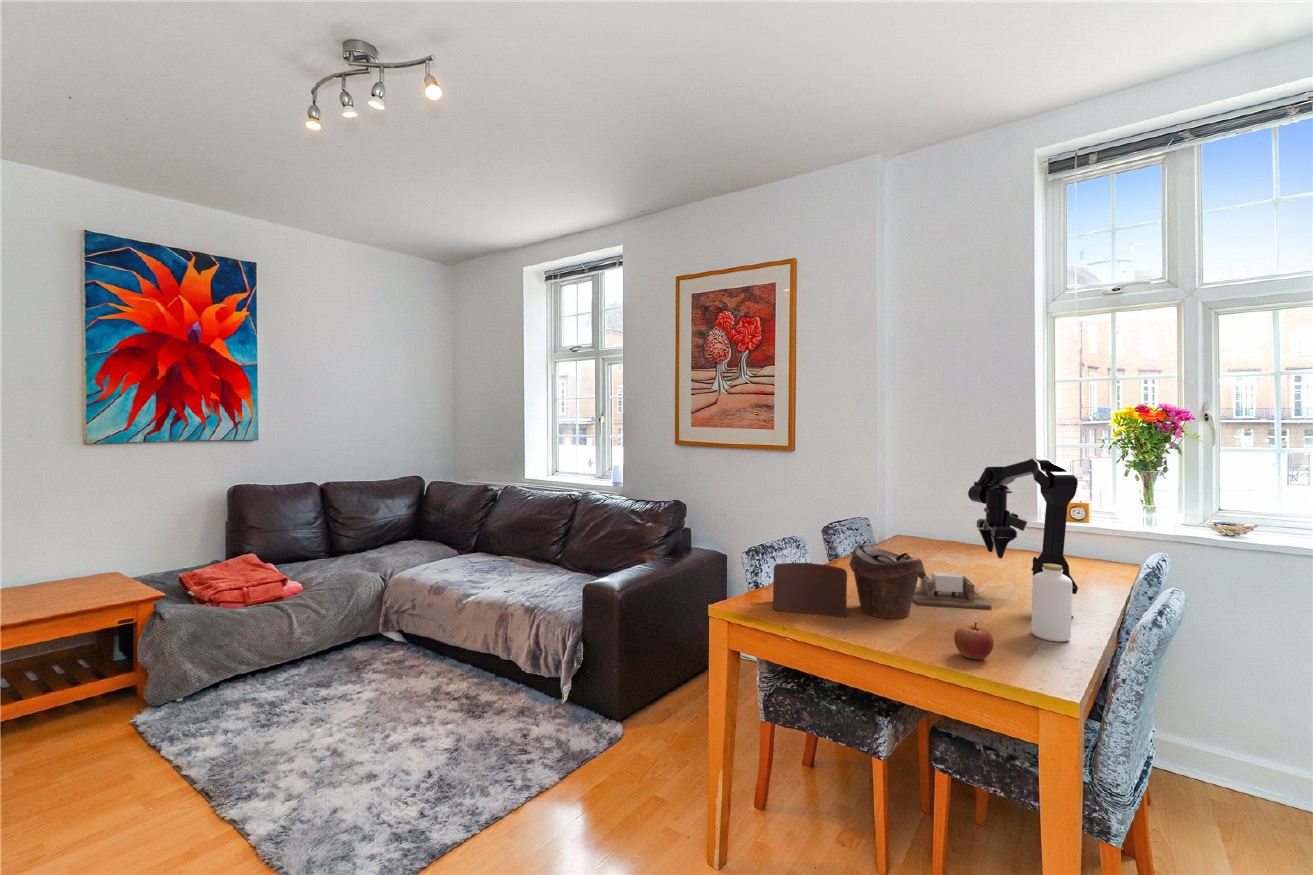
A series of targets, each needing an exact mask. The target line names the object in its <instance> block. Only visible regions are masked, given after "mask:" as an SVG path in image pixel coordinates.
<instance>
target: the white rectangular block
mask: <svg viewBox="0 0 1313 875" xmlns="http://www.w3.org/2000/svg"><path fill="white" fill-rule="evenodd" d="M962 576H963V575H961V574H960V572H947V571H946V572H945V571H931V581H932V582H933V589H934V590H935V591H949V592H963V577H962Z"/></svg>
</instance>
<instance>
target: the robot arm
mask: <svg viewBox="0 0 1313 875" xmlns="http://www.w3.org/2000/svg"><path fill="white" fill-rule="evenodd" d="M1030 475H1032V476H1033V480H1034V481H1035V482H1036V483H1037V484H1038V485H1040V494H1041V496H1042V497H1043V500H1044V501H1045V503H1046V504H1045V512H1044V513H1045V514H1044V526H1043V527H1044V528H1043V537H1042V551H1041V554H1039V556H1033V558H1032V568H1031V570H1030V571H1032V577H1033V576H1034V575H1035V574H1037V573H1040V572H1043V569H1042V567H1043V564H1057V565H1061V566H1062V569H1063V572H1062V574H1063V575H1065V576H1067V577H1068V578H1070V579H1071V580H1072V595H1077V592H1078V591H1079V590H1078V589H1079V587H1078V586H1077V584H1076V582H1075V581H1074V579H1073V577H1072V576H1071V575H1070V566H1069V563H1068V561H1067V560H1066V558H1065V557H1064V551H1065V550H1064V549H1065V540H1066V537H1065V536H1066V529H1067V528H1066V527H1067V516H1068V506H1069V504H1070V503H1071V501H1073V499H1074V497H1075V496H1076V494H1077V489H1078V485H1079V482H1078V477H1076V476H1075V474H1074V473H1072V472H1070V471H1069V470H1067V469H1066V468H1065V467H1062V466H1061V465H1058V464H1056V463H1054V462H1052V461H1051V459H1048V458H1046V457H1031V458H1030V459H1029V460H1028V459H1027V460H1024V461H1021V462H1017V463H1013V464H1009V465H1006V466H986V467H985V468H984V470H983V472H982V474H981V476H980V478H979V479H978V480H977V481H974V482H973V485H972V486H971V487H970V488H969V489H968V492H967V494H968V495H967V496H968V498H969V499H970V500H971V501H972V502H975V503H979V504H985V507H984V509H983V512H985V518H979V519H978V520H976V528H977V530H978V531H979V534H980V537H981V538H982V541H983V543H984V545H985V547H986V549H987V551H988V552H989V553H992V552H993V550H994V549H995V553H996V555H997V558H998V559H1003V557H1004V554H1005V552H1006V549H1007V547H1008V544H1009V543H1010V542H1012V541H1014V540H1015V539H1017V538H1018V532H1017V530H1016V529H1018V530H1019V531H1021V532H1024V531H1025V529H1026V526H1027V525H1028V521H1026V520H1024V519H1022V518H1019V515H1018V514H1016V513H1014V512H1010V510H1007V508H1008V506H1007V503H1008V502H1007V501H1008V494H1012V492H1013V491H1012V490H1011V489H1010V488H1009V487H1008V485H1009V484H1011V483H1013V482H1015V480H1016V479H1018V478H1022V477H1023V478H1024V477H1026V476H1027V477H1028V476H1030ZM1013 527H1014V528H1013ZM1071 619H1074V616H1073V615H1072V616H1071Z"/></svg>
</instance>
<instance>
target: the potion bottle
mask: <svg viewBox="0 0 1313 875" xmlns="http://www.w3.org/2000/svg"><path fill="white" fill-rule="evenodd" d="M1042 569H1043V572H1040V573H1037V574H1035V575H1034V576H1033V575H1032V588H1031V589H1032V591H1031V592H1032V594H1031V596H1032V597H1031V598H1032V599H1031V600H1032V601H1031V633H1032V635H1034V636H1035V637H1036V638H1039V639H1041V640H1045V641H1048V642H1054V643H1055V642H1056V643H1060V642H1061V643H1062V642H1067V641H1069V640H1070V639H1071V638H1072V618H1071V616H1073V615H1072V613H1073V610H1072V609H1073V605H1072V604H1073V594H1072V580H1071V579H1070V578H1068V577H1067V576H1065V575H1063V574H1062V572H1063V569H1062V566H1061V565H1057V564H1043V567H1042Z"/></svg>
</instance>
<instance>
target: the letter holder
mask: <svg viewBox="0 0 1313 875" xmlns="http://www.w3.org/2000/svg"><path fill="white" fill-rule="evenodd" d="M847 584H848V572H847V570H846V569H845V568H842V567H837V566H832V565H827V564H819V563H813V562H812V563H810V562H786V563H777V564H775V565H774V567H773V586H772V588H773V589H772V590H773V591H772V592H773V594H772V610H773V611H776V612H786V613H798V614H806V615H807V614H808V615H817V616H827V617H828V616H829V617H837V618H838V617H839V618H846V617H847V612H848V611H847V609H848V608H847V604H848V603H847V602H848V601H847V597H848V596H847V594H848V592H847V590H848V589H847V588H848V585H847Z"/></svg>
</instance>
